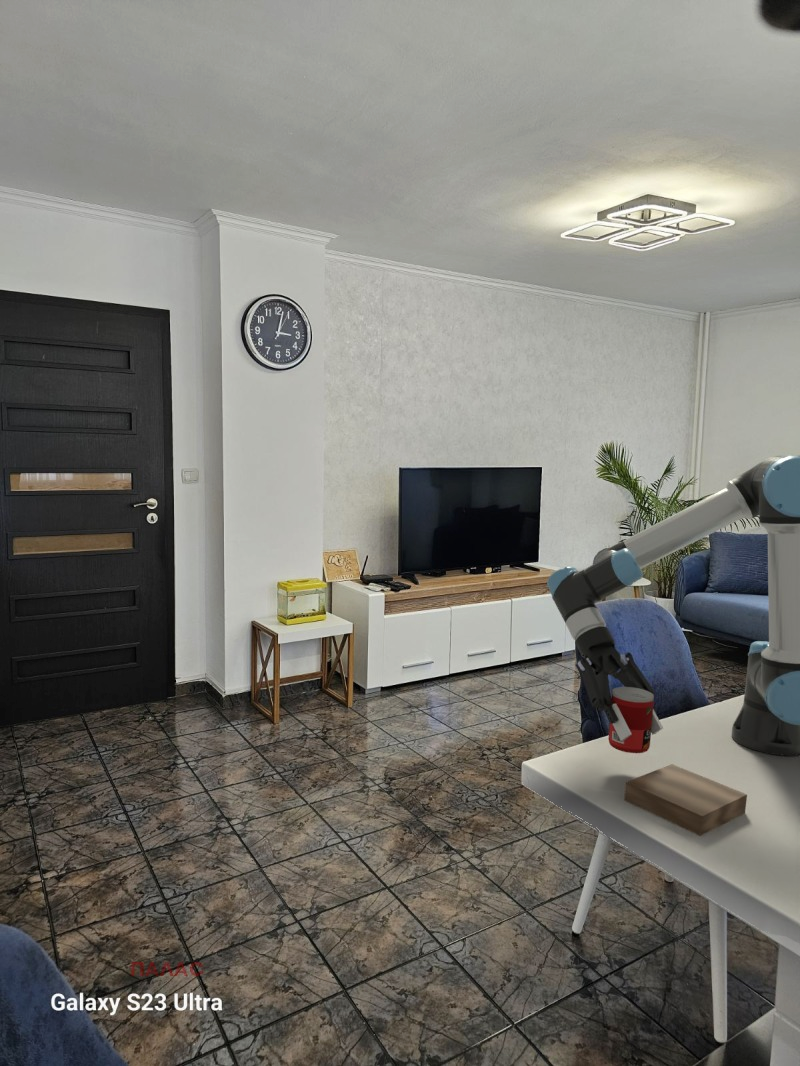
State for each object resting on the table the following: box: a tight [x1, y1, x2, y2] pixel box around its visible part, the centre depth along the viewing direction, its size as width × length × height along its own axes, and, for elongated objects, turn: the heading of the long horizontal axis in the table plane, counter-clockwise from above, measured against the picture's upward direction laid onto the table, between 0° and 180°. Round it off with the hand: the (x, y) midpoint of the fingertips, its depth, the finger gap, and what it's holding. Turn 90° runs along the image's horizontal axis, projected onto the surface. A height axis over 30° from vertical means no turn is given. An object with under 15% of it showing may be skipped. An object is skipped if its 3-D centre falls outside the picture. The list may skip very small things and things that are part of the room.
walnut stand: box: [623, 764, 748, 837], centre depth 136 cm, size 15×15×4 cm
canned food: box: [608, 686, 655, 754], centre depth 149 cm, size 8×8×11 cm
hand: (642, 734), depth 146 cm, fingers closed on canned food, 8 cm apart
